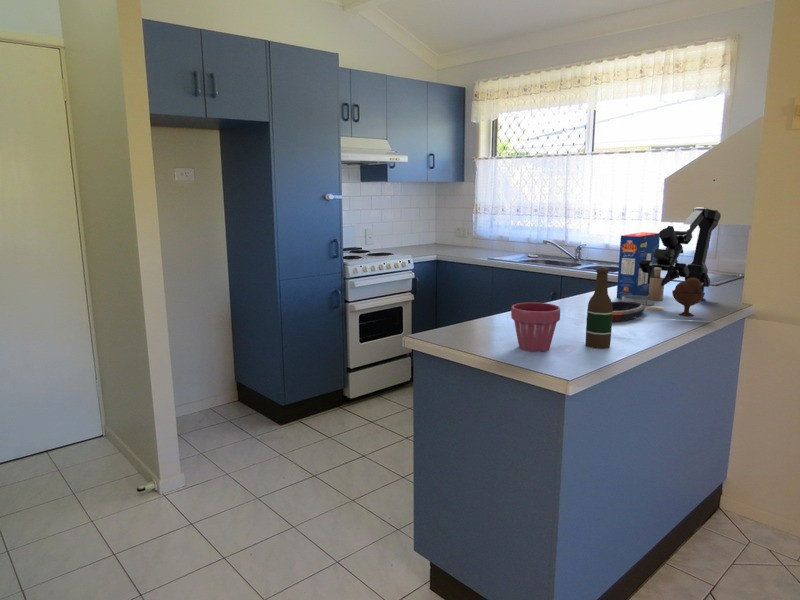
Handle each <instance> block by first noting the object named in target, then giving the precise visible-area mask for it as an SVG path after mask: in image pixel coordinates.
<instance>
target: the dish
mask: <svg viewBox="0 0 800 600" xmlns="http://www.w3.org/2000/svg"><path fill="white" fill-rule="evenodd" d="M611 302H612V306H613V315H612V323H613V322H624V321H628V320H633V319H635V318H637V317H640V316H641V315H642V314H643V312H644V310H645V309H646V308H645V304H644V303H640V302H635V301H622V300H617V301H616V300H615V301H611Z"/></svg>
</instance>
